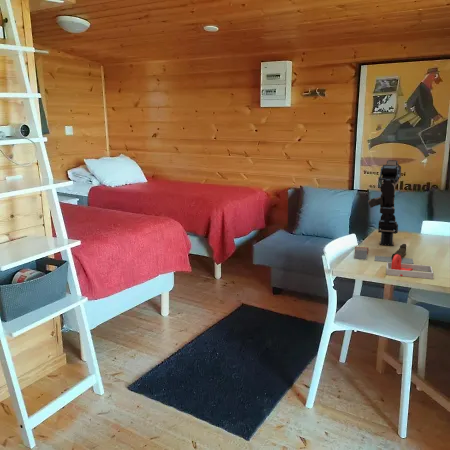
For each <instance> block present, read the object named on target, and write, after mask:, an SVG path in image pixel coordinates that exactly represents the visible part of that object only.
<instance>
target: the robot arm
mask: <svg viewBox="0 0 450 450" xmlns="http://www.w3.org/2000/svg"><path fill="white" fill-rule="evenodd" d="M398 162H399V161H398V160H396V159H395V160H394V159H393V160H392V159H388V160H386V164H382V166H381V167H380V174H379V181H382V182H381V185H380V192H381V194H380V196H379V197H373V198H371V199H369V200H368V201H367V203H368V205H369V208H370V209H371V208H374V207H377V206H379V214H381V215H380V219H379V220H378V227H377V228H378V230H377V231H378V233H381V234H380V240H379V246H389V247H393V246H394V234H395V235H397V234H399V233H398V231H399V224H398V222H397V221H396V219H397V218H396V216H395V210H396V208H395V197H396V186H397V185H398V183H399V182H400V178H401V177H402V166H401V165H400V164H399V163H398Z"/></svg>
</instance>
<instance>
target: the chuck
mask: <svg viewBox="0 0 450 450" xmlns="http://www.w3.org/2000/svg"><path fill="white" fill-rule="evenodd" d="M355 247H356V249H355V248H354V260H355V259H356V260H365V259H366V260H367V259H368V258H367V256H368V255H367V248H358V247H359V246H355Z"/></svg>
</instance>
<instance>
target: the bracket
mask: <svg viewBox="0 0 450 450" xmlns="http://www.w3.org/2000/svg"><path fill="white" fill-rule="evenodd" d="M391 263H392V266H391V268H390V269H394V270H406V271H414V270H413V269H411V268H409V269H406V268H401V256H400V255H398V254H396V255H395V256H394V257H393V260H392V262H391ZM399 277H404V276H403V275H401V274H400V276H399Z"/></svg>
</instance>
